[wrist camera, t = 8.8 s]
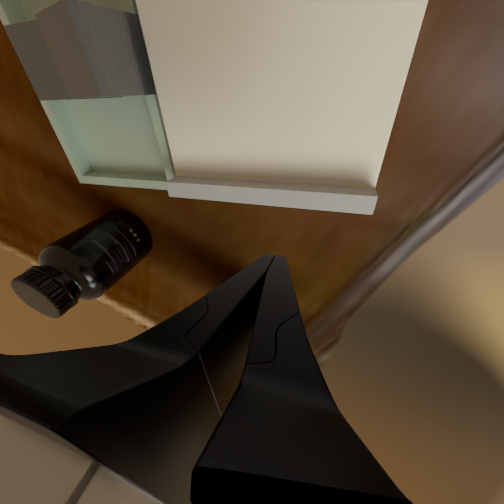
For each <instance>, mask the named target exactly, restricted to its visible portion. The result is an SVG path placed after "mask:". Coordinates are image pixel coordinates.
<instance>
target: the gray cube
mask: <svg viewBox="0 0 504 504" xmlns="http://www.w3.org/2000/svg"><path fill="white" fill-rule="evenodd" d="M4 28H5V30H6V32H7V34H8V36H9V38H10V40H11V42H12V44H13V47H14V49H15V51H16V53H17V55H18V57H19V59H20V61H21V63H22V65H23V67H24V69H25V71H26V73H27V75H28V78H29V80H30V82H31V84H32V86H33V88H34V90H35V92H36V94H37V96H38V98H39V100H40V101H43V100H72V99H97V98H119V97H93V98H70V97H69V94H68V92H67V90H66V87H65V85H64V82H63V80H62V78H61V75H60V73H59V71H58V68H57V66H56V63H55V61H54V59H53V56H52V54H51V51H50V49H49V47H48V44H47V42H46V39H45V37H44V35H43V32H42V30H41V28H40V25H39V23H38V20H31V21H26V22H20V23H15V24H10V25H4ZM121 97H122V96H121Z"/></svg>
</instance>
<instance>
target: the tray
mask: <svg viewBox="0 0 504 504" xmlns="http://www.w3.org/2000/svg"><path fill="white" fill-rule="evenodd" d="M58 1H59V0H0V20H1V22H2V24H3V26H4V25H10V24H15V23H20V22H26V21H31V20H37V18H36V16H35V14H36V13H38V12H40V11H42V10H43V9H45V8H47V7H49V6H50V5H52V4H54V3H56V2H58ZM78 1H83V2H87V3H91V4H95V5H100V6H104V7H108V8H112V9H117V10H121V11H125V12H129V13H134V14H138V9H137V5H136V1H135V0H78ZM138 17H139V14H138ZM139 22H140V18H139ZM140 26H141V22H140ZM141 30H142V27H141ZM142 35H143V31H142ZM143 39H144V35H143ZM10 41H11V40H10ZM11 43H12V42H11ZM144 43H145V40H144ZM12 45H13V44H12ZM145 47H146V44H145ZM146 52H147V48H146ZM147 56H148V52H147ZM148 60H149V57H148ZM149 65H150V61H149ZM150 69H151V65H150ZM151 73H152V70H151ZM152 78H153V74H152ZM153 82H154V78H153ZM154 86H155V83H154ZM155 90H156V87H155ZM40 102H41V104H42V106H43V108H44V110H45V112H46V115H47V117H48V119H49V121H50V123H51V125H52V127H53V129H54V131H55V133H56V135H57V137H58V139H59V141H60V143H61V145H62V147H63V149H64V152H65V154H66V156H67V158H68V160H69V162H70V164H71V166H72V168H73V170H74V172H75V174H76V176H77V178H78V180H79V182H80V183H85V184H97V185H110V186H122V187H134V188H147V189H159V190H167V186H166V181H168V180H170V179H172V178H173V177H175V176H176V173H175V169H174V164H173V160H172V156H171V152H170V147H169V143H168V139H167V134H166V130H165V126H164V121H163V117H162V113H161V108H160V104H159V100H158V96H157V91H156V95H139V96H122V97H119V98H97V99H72V100H43V101H40Z"/></svg>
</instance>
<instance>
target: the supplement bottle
mask: <svg viewBox="0 0 504 504" xmlns="http://www.w3.org/2000/svg"><path fill="white" fill-rule="evenodd" d="M151 249H152V237H151V235H150V232H149V231H148V229H147V227H146V226H145V225H144V224H143V223H142V222H141V221H140V220H139V219H138V218H137V217H135V216H134V215H132V214H130V213H128V212H125V211H121V210H114V211H110V212H108V213H106V214H104V215H102V216H101V217H99V218H97V219H95V220H93V221H91V222H89V223H88V224H86V225H84V226H82V227H80V228H78V229H77V230H75V231H73V232H71V233H69V234H67V235H66V236H64V237H62V238H60V239H58V240H56V241H55V242H53V243H51V244H49V245H48V246H46V247H45V248H43V249H42V251H41V252H40V255H39V258H38V263H39V266H33V267H31V268H29V269H27V270H26V272H24V273H22V274H21V275H19V276H17V277H16V278H14V279H13V280H12V281H11V287H12V289H13V291H14V292H15V293H16V294H17V295H18V297H19V298H20V299H21V300H23V301H24V302H25V303H26V304H27V305H29V306H30V307H31V308H33V309H35V310H36V311H38V312H39V313H41V314H43V315H46V316H48V317H51V318H59V317H60V316H62V315H63V314H64V313H66V312H67V311H68V310H69V309H70V308H73V307H74V306H75V305H76V304H77V303H78V299H80V300H92V299H96V298H98V297H100V296H101V295H103V294H104V293H105V292H106V291H107V290H109V289H110V288H111V287H112V286H113V285H114V284H115V283H116V282H118V281H119V280H120V279H121V278H122V277H123V276H124V275H125V274H127V273H128V272H129V271H130V270H131V269H132V268H133V267H135V266H136V265H137V264H138V263H139V262H140V261H141V260H142V259H144V258H145V257H146V256H147V255H148V254H149V253H150V251H151Z"/></svg>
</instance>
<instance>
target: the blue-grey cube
mask: <svg viewBox="0 0 504 504" xmlns="http://www.w3.org/2000/svg"><path fill="white" fill-rule="evenodd" d="M35 16H36V18H37V20H38V23H39V25H40V28H41V30H42V32H43V35H44V37H45V39H46V42H47V44H48V47H49V49H50V51H51V54H52V56H53V59H54V61H55V63H56V66H57V68H58V71H59V73H60V75H61V78H62V80H63V82H64V85H65V87H66V90H67V92H68V94H69V97H70V98H93V97H121V96H139V95H156V90H155V86H154V82H153V78H152V73H151V69H150V65H149V60H148V56H147V52H146V47H145V43H144V39H143V35H142V30H141V26H140V22H139V17H138V14H134V13H129V12H125V11H121V10H117V9H112V8H108V7H104V6H100V5H95V4H91V3H87V2H83V1H78V0H59V1H58V2H56V3H54V4H52V5H50V6H49V7H47V8H45V9H43V10H42V11H40V12H38V13H36V14H35Z"/></svg>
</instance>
